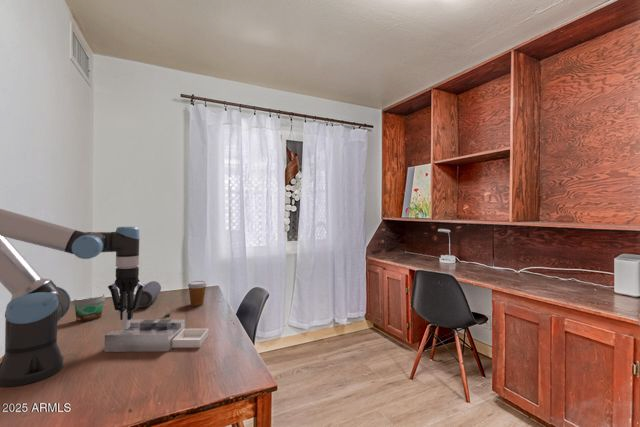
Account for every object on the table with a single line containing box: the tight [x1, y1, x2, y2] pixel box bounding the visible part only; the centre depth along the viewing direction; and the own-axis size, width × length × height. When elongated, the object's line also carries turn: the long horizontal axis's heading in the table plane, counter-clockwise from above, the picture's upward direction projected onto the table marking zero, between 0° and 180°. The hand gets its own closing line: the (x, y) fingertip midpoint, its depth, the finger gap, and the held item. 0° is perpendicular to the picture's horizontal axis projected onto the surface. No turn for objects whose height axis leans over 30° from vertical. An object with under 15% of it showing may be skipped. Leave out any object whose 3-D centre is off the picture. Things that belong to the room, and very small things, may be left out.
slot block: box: [104, 318, 186, 353], centre depth 117 cm, size 16×22×6 cm
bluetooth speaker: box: [138, 280, 162, 308], centre depth 167 cm, size 23×9×10 cm, turn 17°
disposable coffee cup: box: [187, 280, 208, 307], centre depth 166 cm, size 10×10×12 cm
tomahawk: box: [158, 312, 171, 319], centre depth 137 cm, size 21×7×1 cm, turn 165°
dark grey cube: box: [156, 320, 171, 331], centre depth 118 cm, size 4×4×4 cm
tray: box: [171, 328, 210, 349], centre depth 119 cm, size 11×10×3 cm
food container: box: [72, 294, 106, 323], centre depth 140 cm, size 12×6×10 cm, turn 143°
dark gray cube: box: [140, 320, 156, 331], centre depth 117 cm, size 4×4×4 cm
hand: (126, 328), depth 117 cm, fingers closed
